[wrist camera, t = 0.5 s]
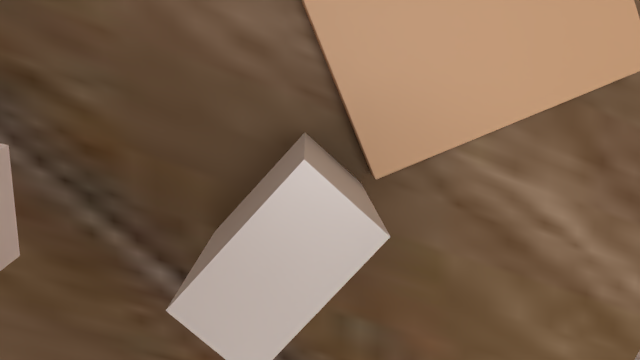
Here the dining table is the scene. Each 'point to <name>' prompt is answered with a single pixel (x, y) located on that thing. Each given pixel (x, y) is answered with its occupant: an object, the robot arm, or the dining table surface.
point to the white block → (279, 256)
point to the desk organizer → (464, 65)
